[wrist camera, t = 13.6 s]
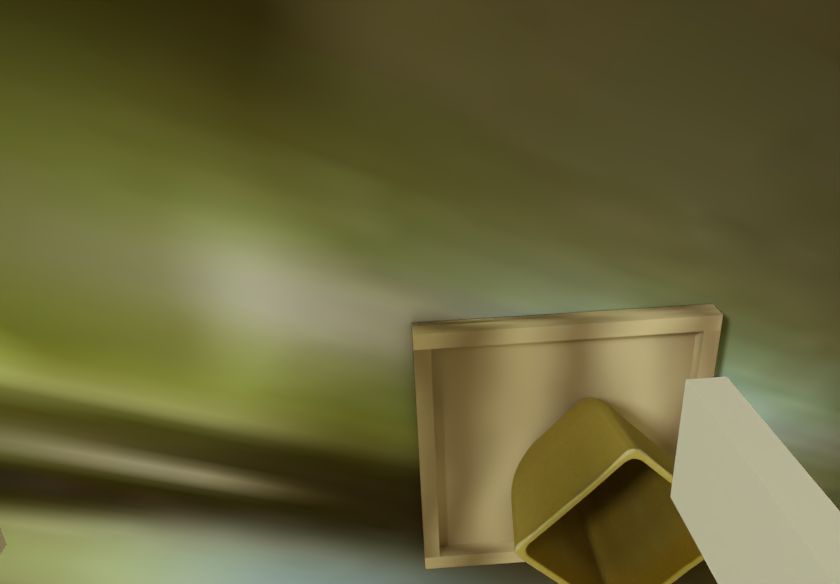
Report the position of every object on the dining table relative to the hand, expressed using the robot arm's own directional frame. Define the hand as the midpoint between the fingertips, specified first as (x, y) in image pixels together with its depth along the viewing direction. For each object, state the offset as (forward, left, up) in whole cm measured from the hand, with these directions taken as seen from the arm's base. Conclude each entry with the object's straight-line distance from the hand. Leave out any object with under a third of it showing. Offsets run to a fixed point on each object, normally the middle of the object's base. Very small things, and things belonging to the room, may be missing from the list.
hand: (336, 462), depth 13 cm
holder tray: (+11, -20, -27) cm, 35 cm away
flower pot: (+13, -20, -26) cm, 35 cm away
